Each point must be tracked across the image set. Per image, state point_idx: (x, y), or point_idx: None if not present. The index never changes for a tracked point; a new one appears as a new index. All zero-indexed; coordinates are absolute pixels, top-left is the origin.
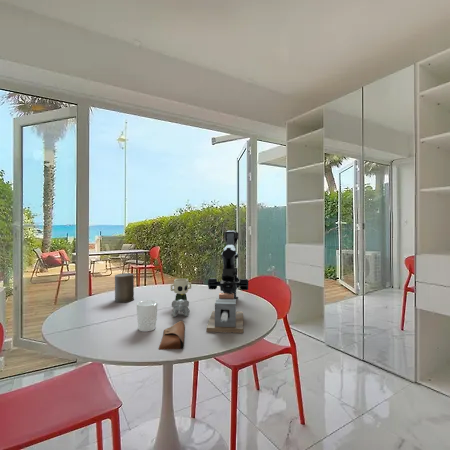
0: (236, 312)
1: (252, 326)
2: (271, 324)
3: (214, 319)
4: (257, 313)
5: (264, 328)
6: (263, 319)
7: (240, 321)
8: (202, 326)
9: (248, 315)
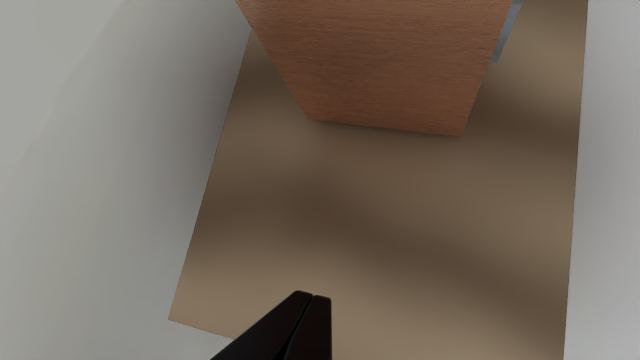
0: (244, 296)
1: (203, 35)
2: (73, 71)
3: (518, 87)
4: (53, 338)
5: (143, 5)
6: (76, 172)
7: None
8: (634, 27)
9: (147, 291)
